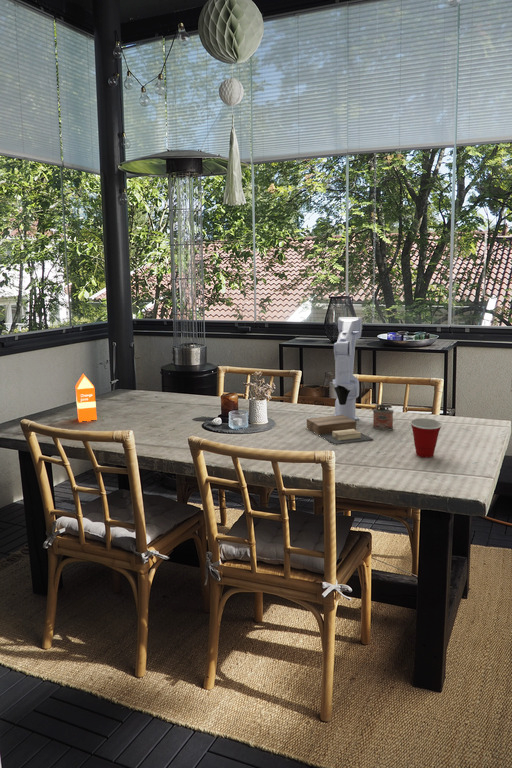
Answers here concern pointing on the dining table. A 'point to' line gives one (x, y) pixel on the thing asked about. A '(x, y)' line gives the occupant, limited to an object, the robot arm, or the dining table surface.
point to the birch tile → (346, 434)
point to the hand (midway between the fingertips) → (342, 404)
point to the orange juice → (85, 400)
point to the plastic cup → (425, 435)
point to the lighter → (383, 417)
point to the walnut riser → (330, 424)
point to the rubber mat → (336, 441)
